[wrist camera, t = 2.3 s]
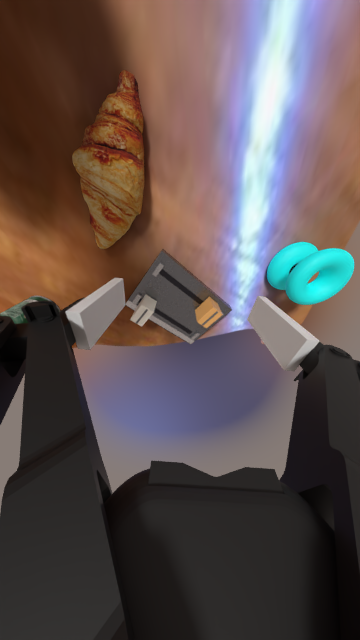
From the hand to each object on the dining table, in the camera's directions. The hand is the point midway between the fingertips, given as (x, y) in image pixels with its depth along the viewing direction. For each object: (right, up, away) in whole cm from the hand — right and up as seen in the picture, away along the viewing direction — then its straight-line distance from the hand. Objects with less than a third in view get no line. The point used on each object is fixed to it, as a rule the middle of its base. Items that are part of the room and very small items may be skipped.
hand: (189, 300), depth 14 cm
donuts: (+23, +10, +18) cm, 32 cm away
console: (-1, +2, +24) cm, 24 cm away
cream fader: (-9, +2, +21) cm, 23 cm away
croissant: (-12, +21, +10) cm, 26 cm away
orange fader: (+6, +1, +22) cm, 22 cm away
